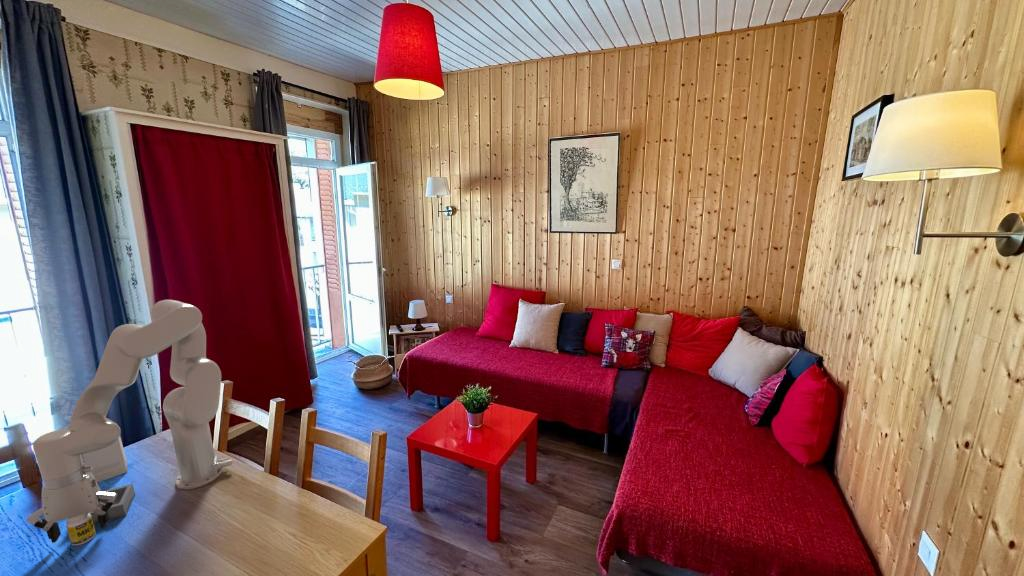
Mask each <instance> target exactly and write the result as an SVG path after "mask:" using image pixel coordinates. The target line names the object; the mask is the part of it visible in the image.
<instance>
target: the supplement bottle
mask: <svg viewBox="0 0 1024 576" xmlns="http://www.w3.org/2000/svg"><path fill="white" fill-rule="evenodd" d="M65 526H66V527H65V528H66V530H67V534H68V538H69V540H70V544H71V546H81V545H84V544H86V543H88V542H89V541H91V540H92V539H93V538H95V536H96V534H97V532H96V529H95V525H94V524H93V520H92V517H91V514H89V513H86V514H82V515H78V516H75V517H71V518H68V519H66V524H65Z"/></svg>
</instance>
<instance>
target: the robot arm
mask: <svg viewBox="0 0 1024 576" xmlns="http://www.w3.org/2000/svg"><path fill="white" fill-rule="evenodd" d="M150 316H151V318H152V320H153V321H152V322H150V323H148V324H146V325H141V324H136V323H125V324H121V325H119V326H116V328H115V329H113V331H112V332H111V334H110V336H109V338H108V340H107V343H106V345H105V348H104V351H103V353H102V356H101V358H100V362H99V365H98V367H97V370H96V372H95V375H94V377H93V379H92V381H90V383H89V384H88V385H87V386H86V388H85V389H84V390H83V392H82V393H81V394H80V396H79V398H78V399H77V401H76V403H75V406H74V409H73V410H72V413H71V416H70V420H69V423H68V428H64V429H56V430H53V431H50V432H47V433H45V434H43V435H40V436H39V437H38V438H37V439H35V441H34V442H33V444H32V448H33V451H34V455H35V459H36V462H37V465H38V468H39V472H40V475H41V479H42V482H43V486H42V487H41V488H42V489H41V508H39V509H38V510H36V511H35V512H33V513H31V514H30V515H29V516H28V517H27V519H26V522H28V523H29V524H31V525H33V527H35V528H38V529H42V531H44V532H46V535H47V537H48V540H51V541H50V542H51V543H52V544H54V543H56V542H57V541H58V540H59V538H60V536H61V533H62V532H61V529H60V526H59V523H58V522H60V521H64V520H67V519H68V518H71V517H75V516H78V515H82V514H86V513H89V512H94V513H97V514H99V515H98V522H99V524H98V525H99V528H100V529H101V530H102V529H104V528H106V525H107V523H109V515H108V512H107V511H108V509H109V508H110V507H111V506H112V504H113V502H114V500H115V498H116V496H117V493H109V492H102V490H101V488H100V486H99V482H98V483H97V481H96V479H95V477H94V476H93V474H92V473H91V471H92V470H93V467H92V466H90V467H86V465H85V462H84V459H83V456H82V454H85V453H88V452H92V451H96V450H100V449H103V448H106V447H108V446H110V445H112V444H113V443H115V442H116V441H117V440H118V438H119V437H121V431H122V430H121V427H120V426H119V425H118V424H116V422H115V421H113V420H111V419H110V418H108V417H107V415H108V413H109V409H110V407H111V404H112V402H113V400H114V399H115V397H116V395H118V394H119V392H121V391H122V390H124V389H126V388H128V387H131V386H132V385H133V384H134V383H135V382H136V380H137V378H138V375H139V373H140V372H139V371H140V368H141V366H142V364H143V360H144V359H148V358H151V357H153V356H155V355H158V354H159V353H162V352H163V351H164V350H167V349H168V348H170V347H171V358H170V367H169V376H170V378H171V380H172V381H173V382H175V383H176V384H179V385H180V387H177V388H174V389H171V391H169V392H168V393H167V395H166V396H165V398H164V399H163V402H162V403H163V404H162V410H163V414H164V416H165V419H166V421H167V424H168V426H169V430H170V433H171V437H172V442H173V443H172V444H173V447H174V452H175V456H176V460H177V465H178V469H179V475H177V477H176V478H175V486H176V487H177V488H178V489H180V490H193V489H197V488H199V487H200V488H201V487H203V486H206V485H208V484H210V483H212V482H213V481H215V480H216V479H218V478H219V477H220V476H221V474H222V473H223V471H224V468H225V467H226V468H227V467H231V466H233V459H229V458H230V457H229V456H228V457H224V458H219V456H218V454H217V455H216V454H215V450H214V445H213V440H212V434H211V429H210V424H209V422H211V421H212V420H213V419H214V418H215V417H216V415H217V413H218V410H219V407H220V400H221V399H220V398H221V384H222V371H221V369H220V367H219V365H218V364H217V362H215V361H214V360H211V359H209V358H207V334H206V329H205V327H204V325H203V322H202V320H203V314H202V312H201V310H200V309H199V308H198V307H196V306H195V305H192V304H190V303H186V302H182V301H180V300H174V299H163V300H159V301H157V302H155V304H153V306H152V307H151V310H150ZM102 499H108V502H107V503H106V504H104V503H102V502H100V501H102ZM42 515H43V517H44V518H41V516H42Z"/></svg>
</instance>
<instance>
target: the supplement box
mask: <svg viewBox="0 0 1024 576" xmlns="http://www.w3.org/2000/svg"><path fill="white" fill-rule="evenodd" d="M115 423H116V422H115ZM116 424H117V423H116ZM117 425H118V424H117ZM82 458H83V462H84V464H85V465H86V467H90V466H92V467H93V470H92V471H91V473H92V474H93V476H94V477H95V479H96V481H97V483H98V484H99V483H100V482H103V481H106V480H109V479H111V478H114V477H115V478H116V477H117V476H121V475H123V474H126V473H128V461H127V460H128V459H127V456H126V452H125V449H124V446H123V442H122V437H121V436H120V437H119V438H118V440H117V441H116V442H115V443H113V444H112V445H110V446H108V447H106V448H103V449H100V450H96V451H92V452H88V453H85V454H82Z"/></svg>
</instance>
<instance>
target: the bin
mask: <svg viewBox="0 0 1024 576" xmlns="http://www.w3.org/2000/svg"><path fill="white" fill-rule="evenodd" d="M101 492H109V493H117V496H116V498H115V500H114V502H113V504H112V506H111V507H110V508H109V509H108V511H107V512H108V515H109V521H114V520H117V519H120V518H124V517H126V516H127V514H128V512H129V510H130V507H131V505H132V503H133V501H134V498H135V497H136V492H135V488H134V485H133V483H129V484H125V485H121V486H117V487H114V488H111V489H106V490H101ZM100 502H102V503H104V504H106V503H107V502H108V499H102V501H100ZM89 514H91V517H92V520H93V524H94V526H97V525H99V522H98V515H99V514H97V513H94V512H89ZM109 521H108V522H109Z"/></svg>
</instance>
